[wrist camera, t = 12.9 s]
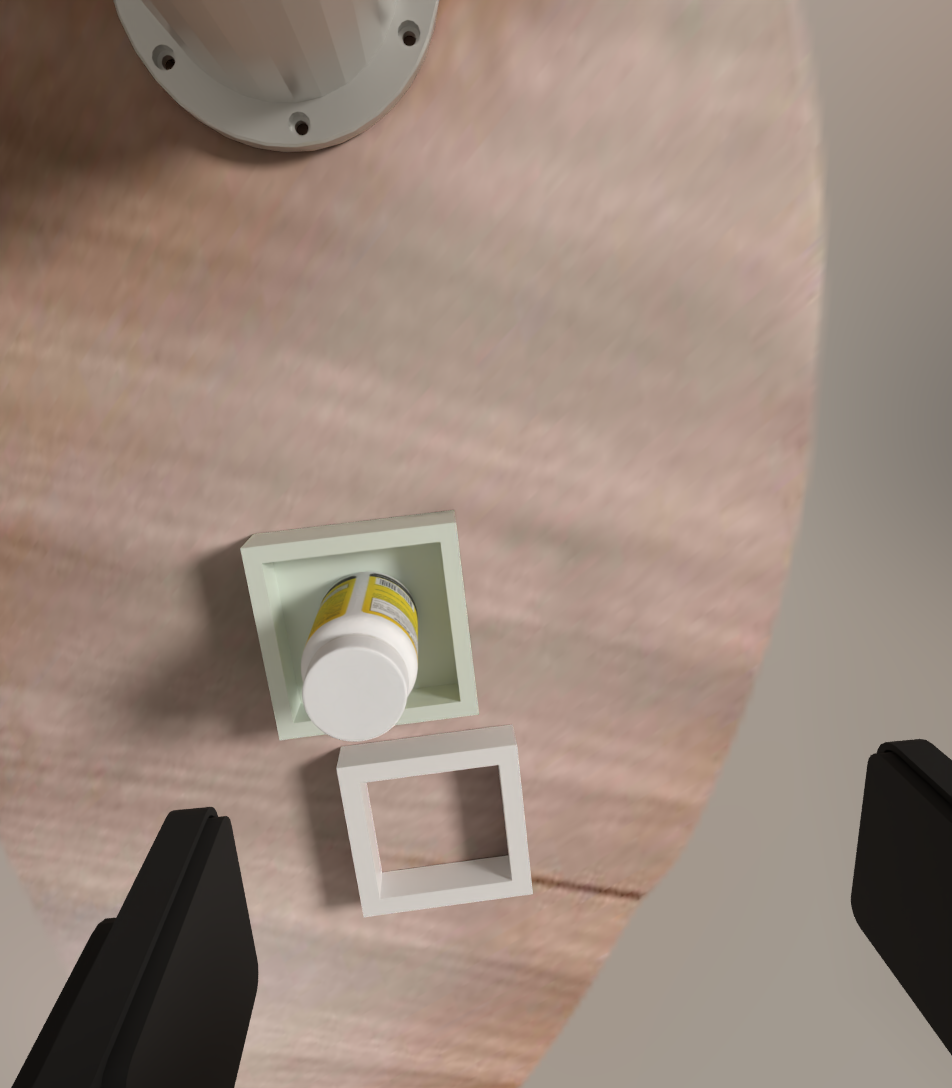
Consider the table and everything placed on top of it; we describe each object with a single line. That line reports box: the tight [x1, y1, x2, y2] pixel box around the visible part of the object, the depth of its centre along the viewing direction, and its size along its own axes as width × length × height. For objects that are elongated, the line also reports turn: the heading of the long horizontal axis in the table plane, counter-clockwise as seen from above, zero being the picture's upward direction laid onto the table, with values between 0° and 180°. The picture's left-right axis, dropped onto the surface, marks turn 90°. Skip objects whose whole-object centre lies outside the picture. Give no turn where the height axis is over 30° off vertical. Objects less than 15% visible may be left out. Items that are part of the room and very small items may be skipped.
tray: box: [240, 510, 479, 740], centre depth 35 cm, size 10×10×2 cm
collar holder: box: [336, 724, 533, 917], centre depth 38 cm, size 9×9×2 cm
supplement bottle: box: [301, 571, 418, 742], centre depth 32 cm, size 5×5×8 cm
